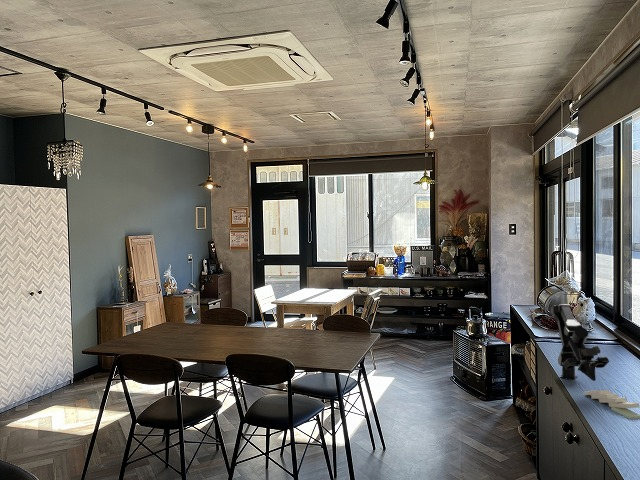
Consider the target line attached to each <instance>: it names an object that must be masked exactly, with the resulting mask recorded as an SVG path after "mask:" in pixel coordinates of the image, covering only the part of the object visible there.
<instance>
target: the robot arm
mask: <svg viewBox="0 0 640 480" xmlns="http://www.w3.org/2000/svg"><path fill="white" fill-rule="evenodd" d="M550 315H552V319H554V321H555V322H556V323H557V326H558V330H559V331H558V333H559V337H560V342H561V346H562V347H561V349H560V352H559V355H558V358H557V363H558V365H559V366H560V367H561V375H560V376H561V377H563V378H562V379H565V378H567V379H566V380H570V379H572V380H571V381H574V380H576V379H577V378H578V377H579V376H578V375H576V367H577V371H579V372H581V373H583V374H584V375H585V376H587V377H588V379H590V380H591V381H593V382H596V380H597V379H596V368H597V369H602V368H605V367H606V366H607V365H608V364H609V363H610V360H609V357H607V356H599V354H601V349H600V347H599V346H598V345H596V346H592V347H587V346H586V345H585V343H586V340H587V339H588V336H589V331H588V330H587V328H585V327H583V325H582V324H581V323H580V322H579V321H577V320H576V319H575V317H574V315H573V312H572V310H571V304H567V303H560V304H558V305H554V304H553V305H552V306H551V307H550ZM595 356H598V357H596V358H595ZM594 358H595V359H594ZM575 378H576V379H575Z"/></svg>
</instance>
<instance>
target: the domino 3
mask: <svg viewBox="0 0 640 480" xmlns="http://www.w3.org/2000/svg"><path fill="white" fill-rule="evenodd" d="M598 402H599V403H601V404H602V403H607V404H609V403H617V402H628V401H627V397H618V398H608V399H598Z"/></svg>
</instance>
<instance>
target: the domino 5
mask: <svg viewBox="0 0 640 480" xmlns="http://www.w3.org/2000/svg"><path fill="white" fill-rule="evenodd" d="M610 409H611V410H612V411H613V412H615V413H618V414H619V415H621V416H623V417H625V418H626V419H628V420H633V419H640V414H638V413H637V412H634V411H632V410H631V409H630V408H620V407H610Z"/></svg>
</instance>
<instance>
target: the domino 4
mask: <svg viewBox="0 0 640 480" xmlns="http://www.w3.org/2000/svg"><path fill="white" fill-rule="evenodd" d="M608 406H609V408H611V407H620V408H627V409H636V408H640V403H639V402H628V401H627V402H617V403H608Z"/></svg>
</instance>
